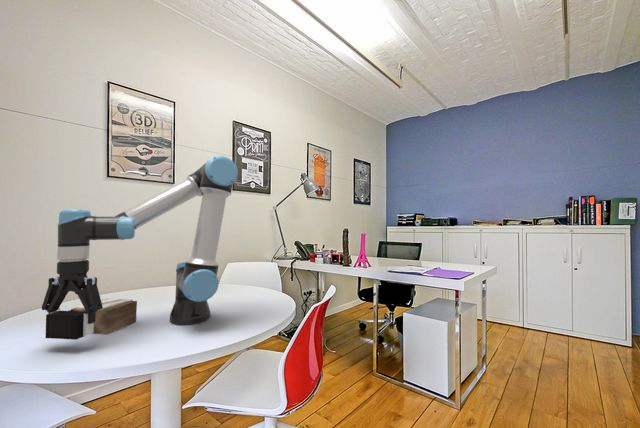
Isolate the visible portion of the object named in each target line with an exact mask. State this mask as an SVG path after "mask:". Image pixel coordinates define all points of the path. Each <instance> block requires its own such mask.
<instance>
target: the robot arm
mask: <svg viewBox="0 0 640 428" xmlns="http://www.w3.org/2000/svg"><path fill="white" fill-rule="evenodd" d="M238 173H239V171H238V167H237V164H235V162H234V160H232V159H230V158H229V157H227V156H224V155H216V156H213V157H211V158H209V159H208V160H207V161H206V162H205V163H204V164H203V165H202V166H200V167H199V168H198V169H197V170H196V171H194V172H192V173H191V174H189V175H187V176H186V179H185V180H183V181H181V182H178V183H177V184H175V185H173V186H171V187H169V188H167V189H165V190H163V191H161V192H159V193H158V194H155V195H154V196H152V197H150V198H148V199H146V200H144V201H142V202H141V203H138V204H136V205H135V206H134V205H133V206H132V207H130V208H128V209H126V210H124V211H123V212H121V213H118V214H117V215H115V216H96V215H92V213H91V211H90V210H87V209H74V208H73V209H71V208H70V209H68V208H67V209H62V210H61V211H60V212H59V216H58V223H57V251H56V252H57V253H56V254H57V255H56V260H57V261H58V262H56V274H58V275H59V276H54V277H50V278H48V287H47V290H46V292H45V296H44V299H43V302H42V306H41V310H42V311H46V312H47V314H50V313H54V312H57V311H62V310H61V309H60V307H61V305H62V304H63V302H64V300H65V298H66V297H67V295H68V293H69V292H74V294H75V295H77V296H78V298H79V301H80V303H81V305H83V306H84V308H85V310H86V313H85V314H84V323H83V336H84V337H87V336H89V335H91V334H92V333H93V328H94V322H95V319H96V318H95V317H96V311H97V310H100V309H102V308H103V306H102V302H101V300H102V299H101V295H100V291H99V288H98V278H97V277H96V276H95V277H88V273H89V271H90V260H89V258H90V246H91V245H90V241H97V240H98V241H99V240H101V241H102V240H104V241H106V240H107V241H109V240H111V241H112V240H116V241H118V240H121V241H123V240H124V241H125V240H131V239H134V237H135V236H136V234H135V233H136V231H135V230H137V229H139V228H140V227H142V226H144V225H146V224H148V223H150V222H152V221H153V220H155V219H157V218H158V217H159V218H160V217H161V216H163V215H164V214H166V213H168V212H169V211H171V210H173V209H175V208H177V207H179V206H181V205H182V204H185V203H186V202H188V201H189V200H191V199H193V198H195V197H201V203H200V208H199V213H198V218H197V223H196V229H195V234H194V240H193V246H192V251H191V256H190V257H189V258H188V259H187V260H185V262H179V263H177V265H176V270H175V273H176V275H175V276H176V277H175V301H174V303H173V307H172V308H171V312H170V314H169V323H170V324H173V325H181V326H182V325H183V326H185V325H195V324H200V323H203V322H206V321H208V320H210V319H211V309H210V307H209V302H208V300H209V299H211V298H213V296H214V295H215V294H216V293H217V291H218V289H219V277H218V270H219V263H218V261H217V260H216V258H217V254H218V253H217V252H218V247H219V242H220V241H219V240H220V236H221V229H222V224H223V217H224V212H225V207H226V202H227V198H229V197H230V196H231V195H232V192H233V191H232V190H233V187H234V183H235V182H236V181H237V179H238V176H239V174H238ZM90 307H91V308H90ZM209 318H210V319H209Z"/></svg>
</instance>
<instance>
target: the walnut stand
mask: <svg viewBox="0 0 640 428" xmlns="http://www.w3.org/2000/svg"><path fill="white" fill-rule="evenodd" d="M101 302H102V306H103V308H102V309H100V310H97V311H96V317H95V318H96V319H95V322H94V328H93V333H92V334H93V335H94V334H95V335H108V334H111V333H113V332H115V331H118V330H120V329H122V328H125V327H127V326H129V325H132V324H134V323H136V322H137V309H138V306H137V305H138V301H137V300H133V299H128V298H127V299H123V298H104V299H101ZM90 308H91V307H90ZM70 310H73V311H86V310H85V308H84V306H83V304H81V305H79V306H76V307H73V308H71V309H70Z"/></svg>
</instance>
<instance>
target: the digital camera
mask: <svg viewBox="0 0 640 428" xmlns="http://www.w3.org/2000/svg"><path fill="white" fill-rule="evenodd" d="M85 313H86V311H73V310H71V309H70V310H61V311H58V310H57V312H54V313H50V314H48V313H47V314H46V316H45V338H44V339H54V340H55V339H56V340H58V339H59V340H79V339H81V338H83V337H85V336H83V323H84V314H85Z"/></svg>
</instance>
